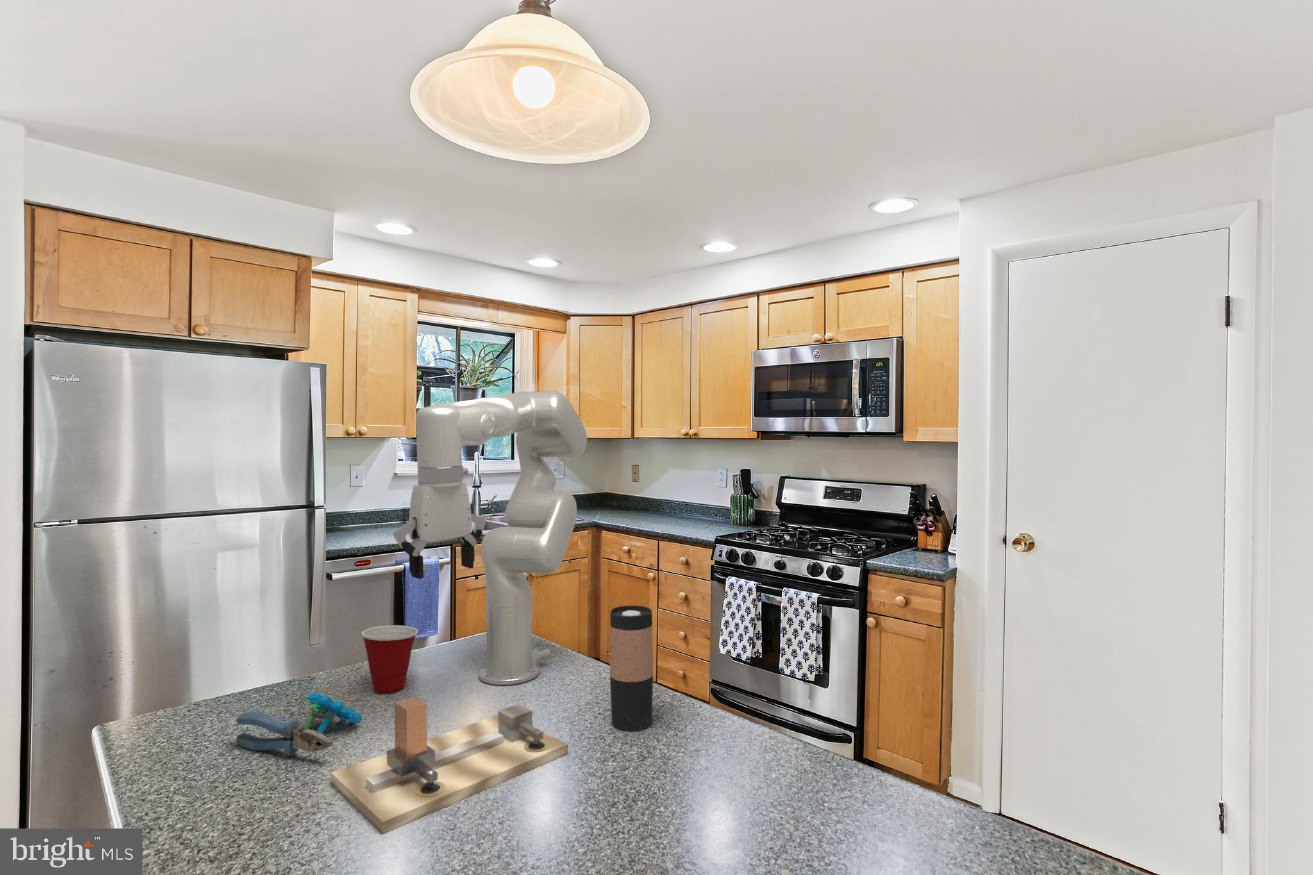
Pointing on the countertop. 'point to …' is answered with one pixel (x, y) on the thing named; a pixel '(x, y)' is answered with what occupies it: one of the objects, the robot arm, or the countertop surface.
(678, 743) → the countertop surface
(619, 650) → the travel mug
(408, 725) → the block
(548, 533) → the robot arm
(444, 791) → the wooden slide jig
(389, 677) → the plastic cup
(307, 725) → the gear
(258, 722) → the pliers
